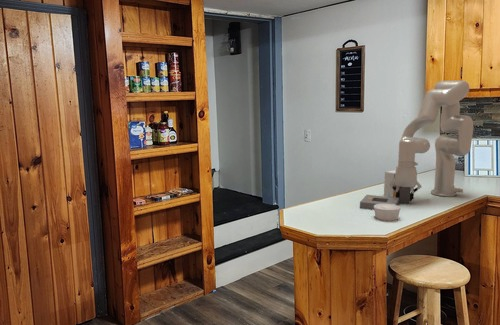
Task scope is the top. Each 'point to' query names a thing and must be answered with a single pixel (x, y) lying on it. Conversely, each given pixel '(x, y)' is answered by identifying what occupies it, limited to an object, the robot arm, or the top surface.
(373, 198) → the socket block
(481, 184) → the top surface
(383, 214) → the ramekin
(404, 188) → the plug
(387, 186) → the small box
